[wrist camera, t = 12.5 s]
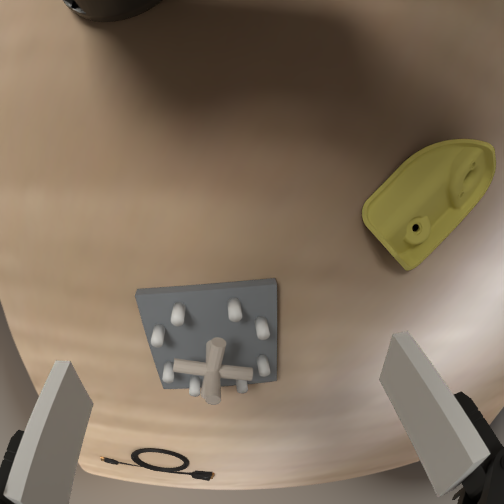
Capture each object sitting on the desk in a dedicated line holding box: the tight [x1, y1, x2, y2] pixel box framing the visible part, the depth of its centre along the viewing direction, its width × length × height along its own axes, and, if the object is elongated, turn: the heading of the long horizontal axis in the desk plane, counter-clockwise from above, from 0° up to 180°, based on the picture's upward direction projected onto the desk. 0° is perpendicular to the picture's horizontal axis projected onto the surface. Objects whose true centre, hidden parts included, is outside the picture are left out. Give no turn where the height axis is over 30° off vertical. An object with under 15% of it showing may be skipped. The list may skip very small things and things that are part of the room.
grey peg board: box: [135, 278, 277, 397], centre depth 42 cm, size 18×18×4 cm
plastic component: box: [362, 139, 496, 271], centre depth 36 cm, size 20×7×10 cm
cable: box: [101, 448, 214, 481], centre depth 58 cm, size 14×28×2 cm, turn 74°
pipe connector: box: [173, 337, 253, 405], centre depth 38 cm, size 10×10×10 cm
